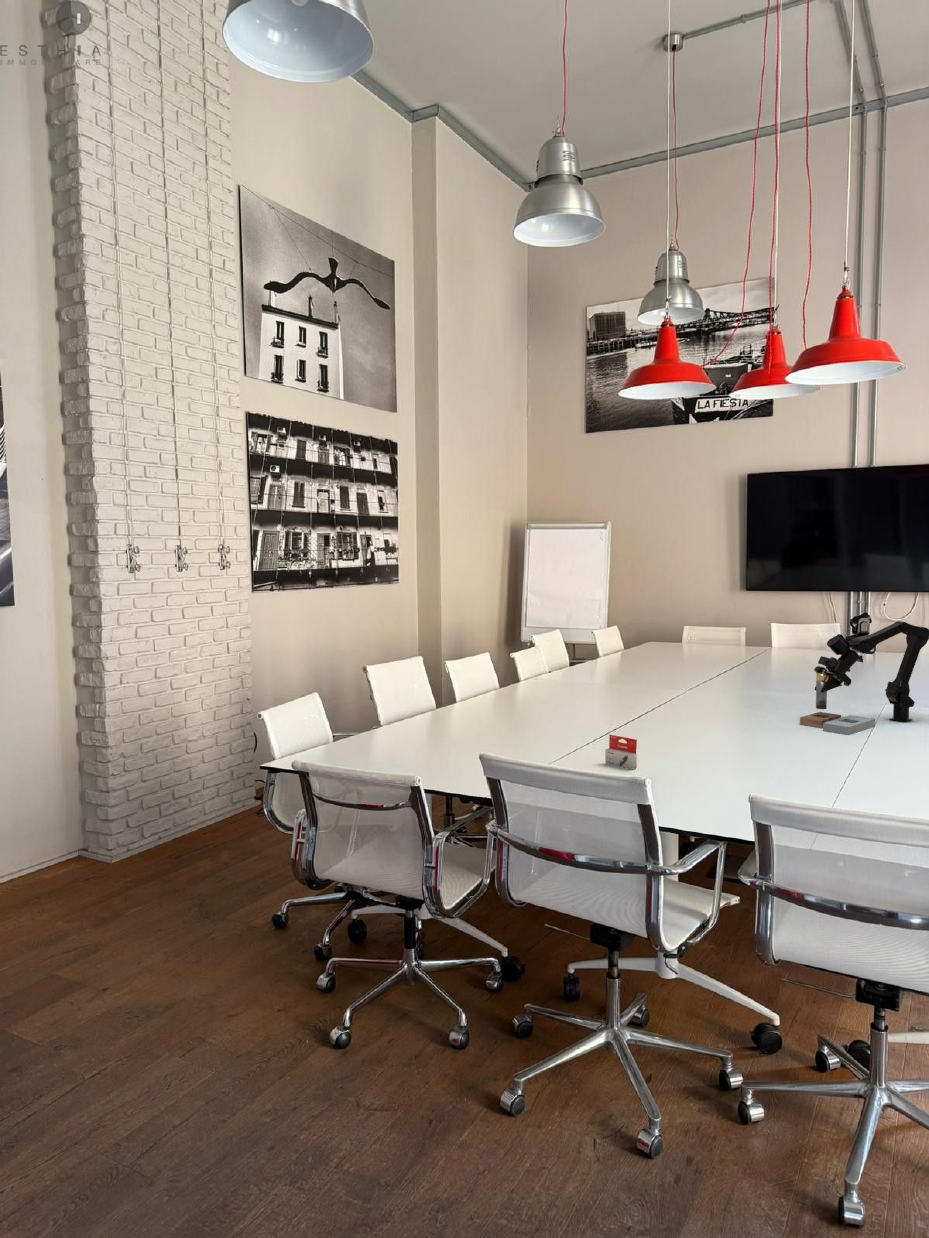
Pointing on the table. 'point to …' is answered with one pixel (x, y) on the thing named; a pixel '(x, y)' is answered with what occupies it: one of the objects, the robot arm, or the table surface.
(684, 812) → the table surface
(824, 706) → the gold capped metal post
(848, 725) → the board
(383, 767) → the table surface
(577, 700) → the table surface
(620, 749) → the ink cartridge box
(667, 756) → the table surface
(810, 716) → the socket block
